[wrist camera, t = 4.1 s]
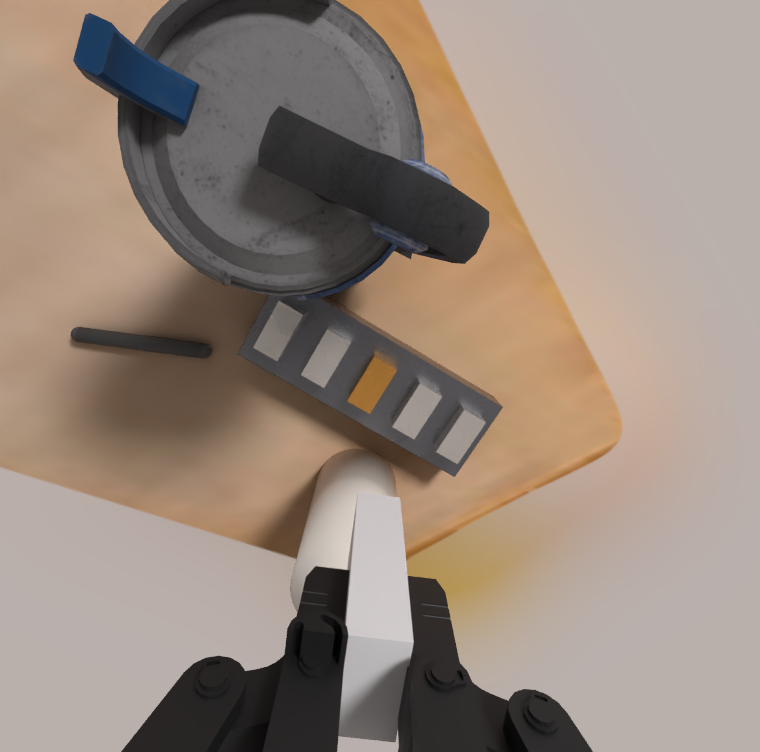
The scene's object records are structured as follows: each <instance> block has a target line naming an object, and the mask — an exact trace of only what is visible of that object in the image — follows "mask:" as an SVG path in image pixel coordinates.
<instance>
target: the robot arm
mask: <svg viewBox="0 0 760 752" xmlns="http://www.w3.org/2000/svg"><path fill="white" fill-rule="evenodd" d="M397 730H398V735H399V750H398V752H592V750H591V748H590V747H589V745H588V744H587V742H586V741H585V739H584V738H583V737H582V735H581V733H580V732H579V730H578V729H577V727H576V726H575V724H574V723H573V721H572V720H571V718H570V717H569V715H568V714H567V712H566V711H565V710H564V709H563V708H562V707H561V705H560V704H559V703H558V702H556V701H555V700H554V699H552V698H551V697H549V696H548V695H546V694H544V693H541V692H539V691H536V690H528V689H523V690H520V691H517V692H515V693H514V694H513V695H512V696H511V698H510V699H509V701H507V700H504V699H502V698H500V697H497V696H495V695H492V694H490V693H488V692H486V691H484V690H482V689H480V688H479V687H478V686H476V685H475V684H474V683H473V682H472V681H471V679H470V676H469V674H468V672H467V670H466V669H465V668H464V667H463V666H462V665H461V664H460V662H459V657H458V653H457V648H456V643H455V638H454V633H453V629H452V623H451V620H450V613H449V609H448V604H447V599H446V594H445V591H444V590H443V589H442V587H441V586H440V584H439V583H438V582H437V580H436V579H429V578H420V577H412V576H407V566H406V555H405V545H404V534H403V524H402V513H401V502H400V498H399V497H391V496H383V495H375V494H367V493H360V492H358V494H357V501H356V508H355V515H354V522H353V529H352V536H351V543H350V551H349V558H348V566H347V570H344V569H336V568H327V567H319V566H315V567H314V568H313V569H312V571H311V572H310V573H309V574H308V575H307V576H306V578H305V583H304V587H303V592H302V596H301V600H300V604H299V609H298V613H297V617H295V618H294V619H293V620H292V621H291V623H290V625H289V627H288V630H287V638H286V647H285V655H284V656H283V657H282V658H281V659H280V660H278V661H277V662H276V663H274V664H272V665H270V666H268V667H264V668H260V669H256V670H250V671H245V670H244V669H243V667H242V666H241V664H240V663H239V662H237V661H235V660H233V659H232V658H229V657H222V656H216V657H208V658H205V659H202V660H200V661H198V662H196V663H194V664H193V665H192V666H191V667H190V668H188V669H187V670H186V671H185V672H184V673H183V675H182V676H181V677H180V678H179V680H178V681H177V682H176V683H175V685H174V686H173V687H172V689H171V690H170V691H169V692H168V694H167V695H166V696H165V697H164V699H163V700H162V701H161V702H160V704H159V705H158V706H157V707H156V709H155V710H154V711H153V712H152V714H151V715H150V716H149V717H148V719H147V720H146V721H145V723H144V724H143V725H142V726H141V728H140V729H139V730H138V731H137V733H136V734H135V735H134V736H133V738H132V739H131V740H130V742H129V743H128V744H127V745H126V746H125V748H124V749H123V750H122V752H337V745H338V736H343V737H351V738H360V739H370V740H379V741H388V742H395V741H396V735H397Z"/></svg>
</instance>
